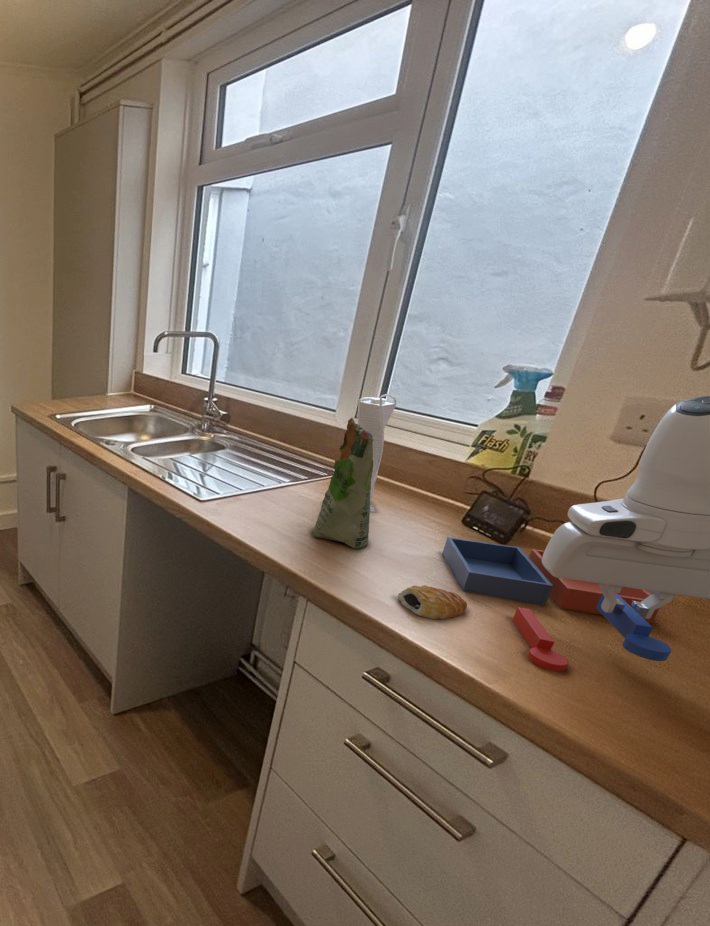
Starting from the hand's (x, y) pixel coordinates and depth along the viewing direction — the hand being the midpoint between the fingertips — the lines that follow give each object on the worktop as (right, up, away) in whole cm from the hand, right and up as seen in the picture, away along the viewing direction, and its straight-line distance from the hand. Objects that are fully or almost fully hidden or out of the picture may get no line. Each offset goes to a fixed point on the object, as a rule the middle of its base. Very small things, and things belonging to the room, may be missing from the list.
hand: (623, 613), depth 73 cm
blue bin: (+1, +2, +23) cm, 23 cm away
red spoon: (-9, -6, +4) cm, 11 cm away
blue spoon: (-1, -3, -1) cm, 3 cm away
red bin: (+12, 0, +17) cm, 21 cm away
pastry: (-17, -2, +14) cm, 22 cm away
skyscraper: (-5, +15, +54) cm, 56 cm away
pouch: (-18, +8, +39) cm, 43 cm away
